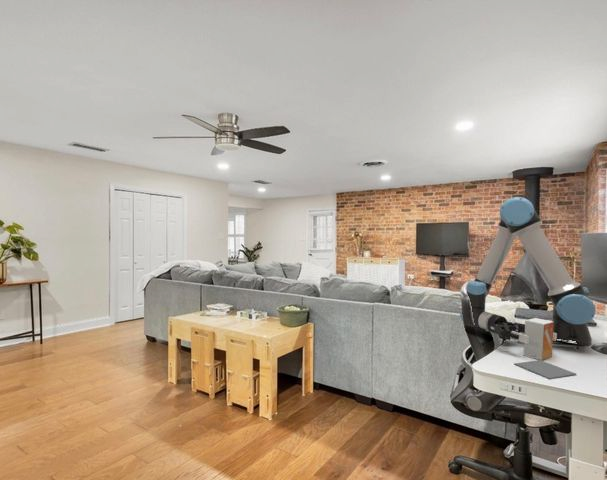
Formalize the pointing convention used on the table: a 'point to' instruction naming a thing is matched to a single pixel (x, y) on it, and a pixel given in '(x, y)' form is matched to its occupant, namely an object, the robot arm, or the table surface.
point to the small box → (539, 338)
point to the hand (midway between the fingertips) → (542, 338)
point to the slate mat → (545, 369)
